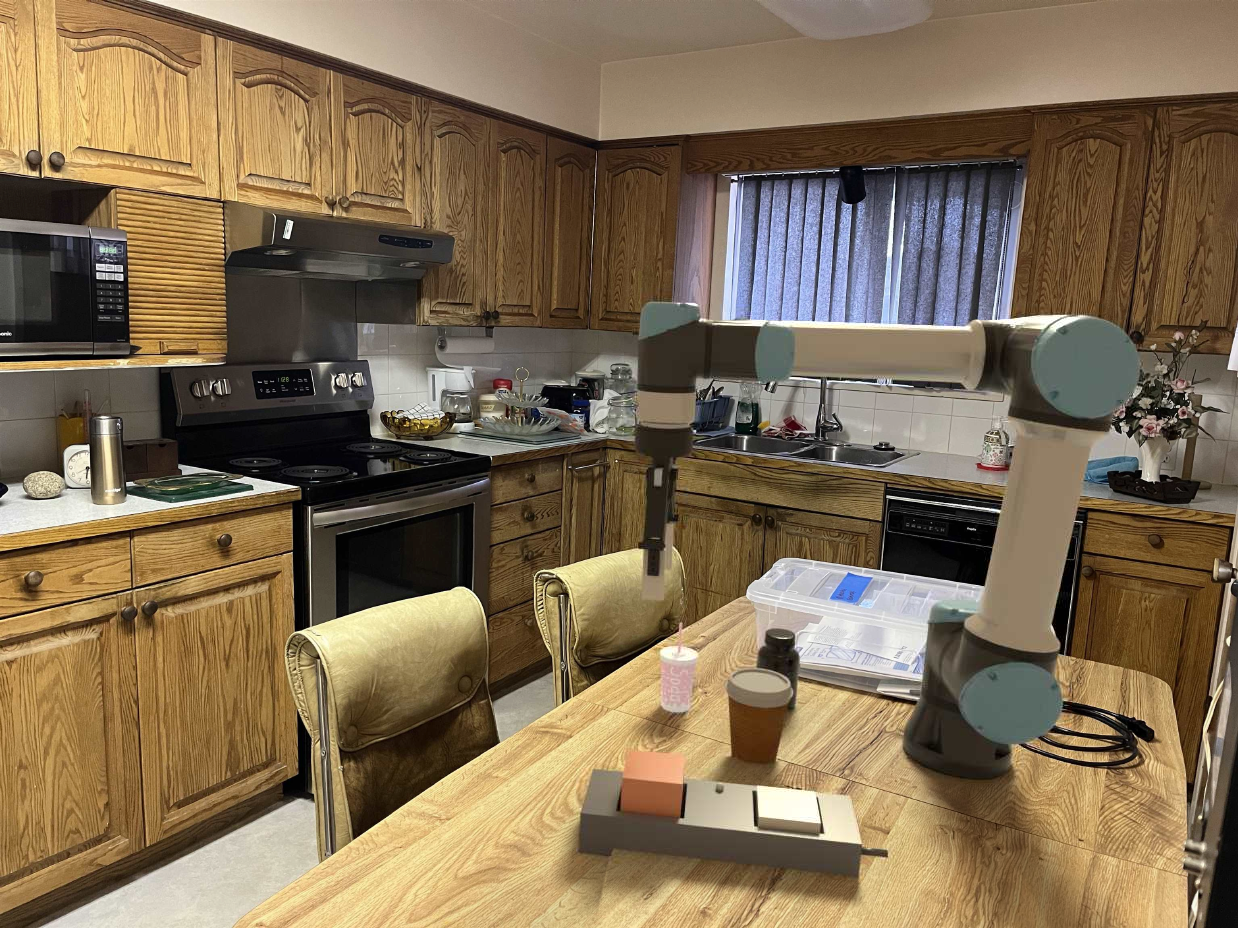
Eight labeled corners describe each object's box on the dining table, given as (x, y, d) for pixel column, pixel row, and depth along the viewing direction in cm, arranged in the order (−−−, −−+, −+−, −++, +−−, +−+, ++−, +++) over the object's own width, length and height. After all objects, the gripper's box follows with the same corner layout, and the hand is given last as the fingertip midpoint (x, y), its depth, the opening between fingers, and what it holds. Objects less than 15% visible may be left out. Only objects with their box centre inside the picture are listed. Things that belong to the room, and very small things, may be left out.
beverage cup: (650, 709, 146) (656, 625, 144) (664, 695, 152) (669, 614, 149) (687, 717, 144) (693, 632, 141) (699, 702, 149) (705, 620, 147)
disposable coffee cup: (786, 779, 126) (793, 697, 124) (716, 769, 128) (722, 688, 126) (787, 748, 135) (794, 671, 133) (723, 739, 137) (728, 663, 135)
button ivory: (811, 828, 113) (815, 791, 112) (816, 862, 106) (820, 823, 105) (753, 822, 113) (757, 785, 113) (755, 855, 107) (758, 816, 106)
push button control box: (879, 836, 114) (883, 793, 113) (894, 888, 103) (899, 841, 102) (591, 804, 117) (593, 762, 116) (578, 851, 107) (580, 806, 106)
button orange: (682, 792, 114) (685, 755, 113) (679, 823, 107) (682, 783, 106) (626, 786, 115) (628, 749, 114) (620, 816, 108) (622, 777, 107)
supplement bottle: (744, 699, 151) (750, 630, 149) (773, 690, 156) (779, 623, 154) (775, 715, 146) (781, 643, 144) (804, 705, 150) (810, 635, 148)
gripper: (645, 411, 131) (639, 555, 134) (623, 435, 106) (616, 611, 110) (698, 414, 130) (690, 559, 133) (688, 439, 105) (679, 616, 109)
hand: (657, 583), depth 122 cm, fingers open, 13 cm apart
